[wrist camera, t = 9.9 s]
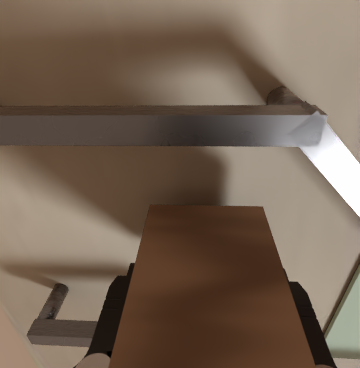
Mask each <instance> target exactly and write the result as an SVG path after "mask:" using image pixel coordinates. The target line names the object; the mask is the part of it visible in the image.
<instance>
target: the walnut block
mask: <svg viewBox="0 0 360 368" xmlns="http://www.w3.org/2000/svg"><path fill="white" fill-rule="evenodd" d="M108 368H316V366H315V363H314V360H313V357H312V354H311V351H310V348H309V345H308V342H307V339H306V336H305V333H304V330H303V327H302V324H301V321H300V318H299V315H298V312H297V309H296V306H295V303H294V300H293V297H292V293H291V290H290V287H289V284H288V281H287V278H286V275H285V272H284V269H283V266H282V263H281V260H280V257H279V254H278V251H277V248H276V245H275V242H274V239H273V236H272V233H271V230H270V227H269V224H268V221H267V218H266V215H265V212H264V209H263V207H259V206H201V205H150V207H149V211H148V215H147V219H146V223H145V227H144V231H143V234H142V238H141V242H140V246H139V250H138V254H137V258H136V262H135V266H134V270H133V273H132V277H131V281H130V285H129V289H128V293H127V297H126V301H125V305H124V309H123V312H122V316H121V320H120V324H119V328H118V332H117V336H116V340H115V344H114V348H113V351H112V355H111V359H110V363H109V367H108Z"/></svg>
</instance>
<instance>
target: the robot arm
mask: <svg viewBox="0 0 360 368" xmlns="http://www.w3.org/2000/svg"><path fill="white" fill-rule="evenodd" d="M134 266H135V263H131V264H130V266H129V270H128V273H127V276H117V277H116V278H115V280H114V281H113V282H112V283H111V285H110V286H109V289H108V292H107V295H106V300H105V302H104V305H103V309H102V311H101V314H100V317H99V320H98V323H97V326H96V329H95V332H94V335H93V338H92V341H91V344H90V347H89V350H88V352H87V354H86V355H85V357H84V358H83V359H82V360H81V361H80V362H79V363H78V364H77V365H76V366H75V367H73V368H108V367H109V363H110V359H111V355H112V351H113V348H114V344H115V340H116V336H117V332H118V328H119V324H120V320H121V316H122V312H123V309H124V305H125V301H126V297H127V293H128V289H129V285H130V281H131V277H132V273H133V270H134ZM283 269H284V268H283ZM284 272H285V275H286V278H287V281H288V284H289V287H290V290H291V293H292V297H293V300H294V303H295V306H296V309H297V312H298V315H299V318H300V321H301V324H302V327H303V330H304V333H305V336H306V339H307V342H308V345H309V348H310V351H311V354H312V357H313V360H314V363H315V366H316V368H337V367H336V365H335V363H334V361H333V358H332V356H331V353H330V351H329V348H328V345H327V343H326V340H325V338H324V335H323V333H322V330H321V327H320V325H319V322H318V320H317V319H316V315H315V312H314V309H313V308H312V304H311V302H310V299H309V296H308V294H307V292H306V291H305V290H304V289H303V288H302V286H301V285H300V284H299V283H298V282H289V280H288V277H287V274H286V271H285V269H284Z"/></svg>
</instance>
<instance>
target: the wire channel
mask: <svg viewBox="0 0 360 368" xmlns="http://www.w3.org/2000/svg"><path fill="white" fill-rule="evenodd" d="M327 116H328V115H327V114H326V113H324V112H323V111H322V110H321V109H319V108H318V107H317V106H316V105H310V104H309V103H307V102H306V101H305V102H303V101H302V100H301V99H300V98H298V97H297V96H296V95H295V94H294V93H292V92H291V91H290V90H289V89H287V88H285V87H278V88H276V89H274V90H273V91H272V92H271V93H270V94H269V96H268V98H267V105H202V106H0V145H77V146H272V147H299V148H300V149H301V150H302V151H303V152H304V153H305V154H306V156H307V157H308V158H309V159H310V160H311V161H312V162H313V164H314V165H315V166H316V167H317V168H318V169H319V170H320V172H321V173H322V174H323V175H324V176H325V177H326V178H327V180H328V181H329V182H330V183H331V184H332V185H333V186H334V188H335V189H336V190H337V191H338V192H339V193H340V194H341V196H342V197H343V198H344V199H345V200H346V201H347V203H348V204H349V205H350V206H351V207H352V208H353V209H354V211H355V212H356V213H357V214H358V215H359V216H360V164H359V163H358V162H357V161H356V159H355V158H354V157H353V156H352V154H351V153H350V152H349V150H348V149H347V148H346V147H345V145H344V144H343V143H342V141H341V140H340V139H339V138H338V136H337V135H336V134H335V133H334V131H333V130H332V129H331V127H330V126H329V125H328V124H327V122H326V119H327ZM67 293H68V288H67V287H66V286H65V285H62V284H56V285H55V286H54V288H53V290H52V291H51V293H50V295H49V297H48V299H47V301H46V303H45V305H44V307H43V309H42V310H41V312H40V314H39V316H38V318H37V319H35V320H34V322H33V324H32V326H31V328H30V329H29V331H28V333H27V337H28V339H29V340H30V342H31V343H32V344H39V345H59V346H78V347H90V344H91V341H92V338H93V335H94V332H95V329H96V326H97V323H98V321H77V320H55V318H56V316H57V314H58V312H59V310H60V308H61V305H62V303H63V301H64V299H65V297H66V295H67Z"/></svg>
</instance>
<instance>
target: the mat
mask: <svg viewBox="0 0 360 368" xmlns="http://www.w3.org/2000/svg"><path fill="white" fill-rule="evenodd" d="M324 338H325V340H326V343H327V345H328V348H329V351H330V353H331V356H332V358H347V359H360V264H359V266H358V268H357V270H356V272H355V274H354V276H353V278H352V280H351V282H350V284H349V286H348V288H347V290H346V292H345V294H344V296H343V298H342V300H341V302H340V304H339V306H338V308H337V310H336V312H335V314H334V316H333V318H332V320H331V322H330V324H329V326H328V328H327V330H326V332H325V334H324Z"/></svg>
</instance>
